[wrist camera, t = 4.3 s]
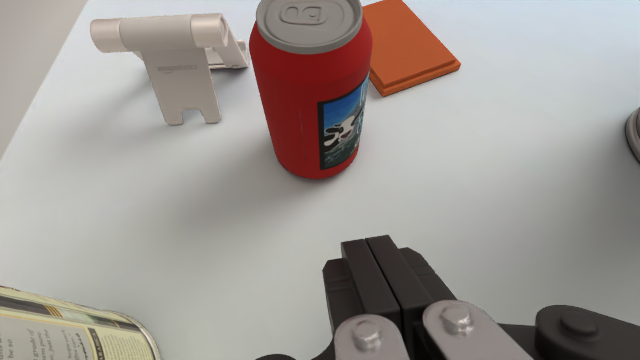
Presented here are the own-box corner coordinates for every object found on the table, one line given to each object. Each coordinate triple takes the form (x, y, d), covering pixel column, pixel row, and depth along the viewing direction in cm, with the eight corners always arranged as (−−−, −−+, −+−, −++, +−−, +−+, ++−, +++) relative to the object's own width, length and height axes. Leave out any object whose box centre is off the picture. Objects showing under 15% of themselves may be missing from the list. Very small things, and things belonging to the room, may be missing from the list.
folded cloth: (398, 3, 36) (400, -8, 35) (458, 69, 31) (463, 59, 30) (330, 24, 35) (330, 14, 34) (382, 97, 30) (384, 87, 29)
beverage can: (356, 188, 25) (375, 61, 15) (268, 180, 26) (227, 53, 15) (360, 118, 29) (378, -26, 18) (282, 112, 29) (256, -31, 19)
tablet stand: (249, 57, 33) (227, -32, 25) (244, 121, 29) (215, 37, 21) (161, 62, 33) (112, -27, 25) (144, 126, 29) (80, 44, 21)
